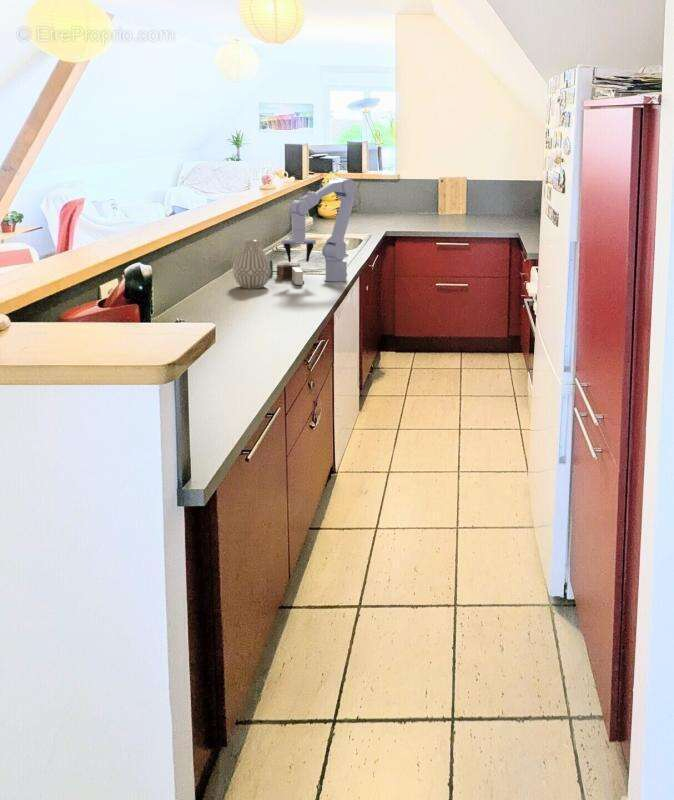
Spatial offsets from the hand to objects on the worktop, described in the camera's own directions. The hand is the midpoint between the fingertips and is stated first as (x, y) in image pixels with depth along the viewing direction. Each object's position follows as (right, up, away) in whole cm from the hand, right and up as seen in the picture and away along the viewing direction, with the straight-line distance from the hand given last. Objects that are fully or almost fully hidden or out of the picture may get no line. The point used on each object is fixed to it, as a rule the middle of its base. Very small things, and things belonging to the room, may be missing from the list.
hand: (298, 261), depth 421 cm
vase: (-19, -12, -5) cm, 23 cm away
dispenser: (-5, -5, +17) cm, 18 cm away
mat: (0, -8, +6) cm, 10 cm away
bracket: (-17, -6, +16) cm, 24 cm away
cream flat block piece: (-1, -8, +5) cm, 10 cm away
